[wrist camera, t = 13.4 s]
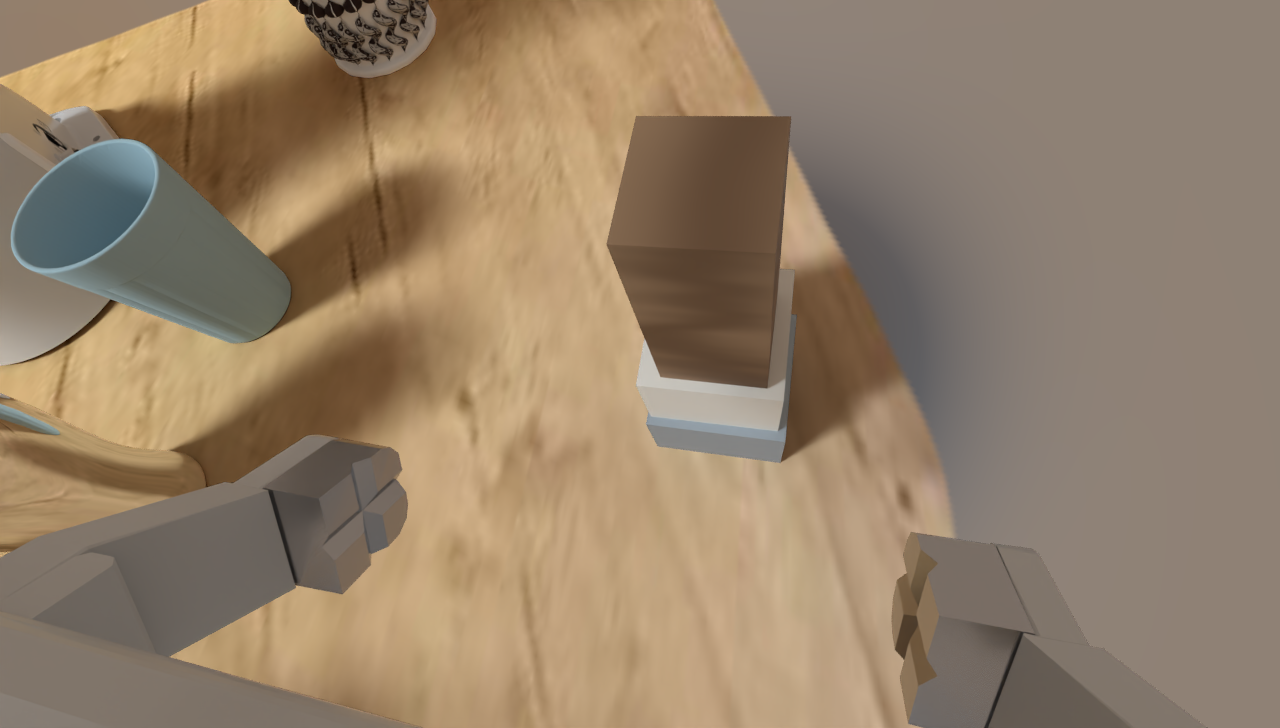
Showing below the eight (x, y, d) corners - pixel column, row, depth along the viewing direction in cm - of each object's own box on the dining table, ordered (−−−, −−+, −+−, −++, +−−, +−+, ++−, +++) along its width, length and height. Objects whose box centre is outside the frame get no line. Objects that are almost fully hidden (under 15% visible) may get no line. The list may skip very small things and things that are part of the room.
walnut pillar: (660, 377, 22) (606, 244, 14) (676, 285, 24) (636, 115, 16) (767, 388, 21) (775, 253, 13) (777, 292, 23) (790, 116, 15)
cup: (325, 253, 38) (183, 135, 28) (284, 363, 35) (112, 274, 26) (226, 251, 39) (60, 139, 30) (180, 356, 37) (-19, 270, 27)
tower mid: (651, 416, 26) (636, 385, 22) (669, 306, 28) (658, 261, 24) (777, 431, 25) (783, 401, 21) (788, 315, 27) (794, 269, 23)
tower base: (658, 446, 30) (646, 424, 26) (676, 339, 32) (667, 304, 28) (780, 463, 28) (785, 442, 25) (790, 349, 30) (796, 314, 27)
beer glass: (178, 421, 35) (-190, 301, 21) (237, 496, 32) (-138, 415, 19) (81, 514, 33) (-379, 450, 20) (134, 600, 31) (-351, 595, 17)
